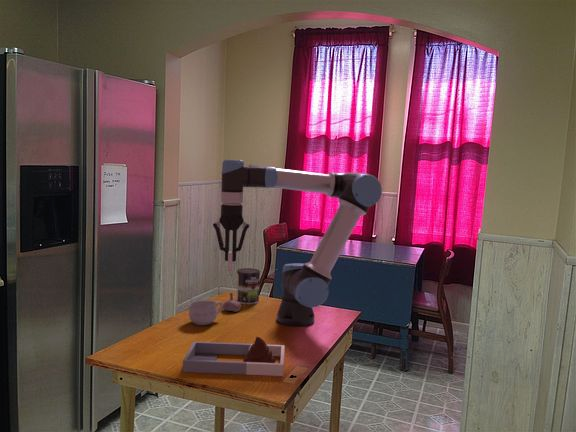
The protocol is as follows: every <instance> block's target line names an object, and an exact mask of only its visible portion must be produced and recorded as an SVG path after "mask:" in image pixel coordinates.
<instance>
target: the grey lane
mask: <svg viewBox="0 0 576 432" xmlns="http://www.w3.org/2000/svg"><path fill="white" fill-rule="evenodd" d="M251 344H252V343H239V342H237V343H235V342H217V341H216V342H215V341H214V342H213V341H193V342H192V344H191V345H190V347H189V349H188V352H187V353H186V355H185V357H184V358H183V360H182V373H196V374H197V373H200V374H201V373H202V374H203V373H204V374H220V375H221V374H223V375H225V374H227V375H246V364H247V362H243V361H234V360H233V361H230V360H228V361H227V360H217V359H218V357H219V355H235V356H236V355H238V356H239V355H240V356H247V353H248V351H249V347H250V346H251ZM246 376H247V375H246Z"/></svg>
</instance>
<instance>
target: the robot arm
mask: <svg viewBox="0 0 576 432" xmlns="http://www.w3.org/2000/svg"><path fill="white" fill-rule="evenodd" d="M244 188H263V189H264V188H265V189H269V188H272V189H273V188H274V189H275V188H276V189H281V190H282V189H283V190H292V191H300V192H309V193H318V194H325V195H326V196H327V197H331V198H336V199H338V203H339V206H338V208H337V210H336V212H335V214H334V216H333V218H332V220H331V221H330V223H329V225H328V227H327V229H326V230H325V232H324V234H323V236H322V239H321V240H320V242H319V243H318V246H317V248H316V249H315V250H314V251H315V252H314V253H313V255H312V257H311V259H310V261H308V262H305V263H303V262H302V263H296V262H295V263H294V262H293V263H286V264H284V265H283V267H282V271H281V272H282V273H281V274H282V281H281V282H282V283H281V284H282V285H281V302H280V305H279V308H278V310H277V313H276V320H277V322H278V323H280V324H283V325H286V326H293V327H303V326H309V325H312V324H314V322H315V312H314V309H313V308H316V307H319V306H321V305H322V304H324V302H325V301H326V300H327V299H328V296H329V285H330V282H331V281H332V279H333V278H332V276H331V271H332V270H333V268H334V266H335V264H336V262H337V261H338V259H339V257H340V255H341V253H342V251H343V250H344V247H345V246H346V244H347V242H348V240H349V238H350V237H351V234H352V233H353V230H354V229H355V227H356V225H357V223H358V221H359V220H360V218H361V216H365V215H367V213H368V211H369V209H370V208H371V207H372V206H374V205H376V204H377V203H378V202H379V201H380V199H381V196H382V195H383V194H382V193H383V188H382V185H381V182H380V180H379V179H378V178H377V177H376V176H375V175H372V174H369V173H365V172H332V171H331V172H329V173H326V174H325V173H320V172H318V173H317V172H311V171H303V170H294V169H286V168H280V167H279V168H276V167H274V166H268V165H267V166H262V165H261V166H260V165H254V164H248V165H245V163H244V160H242V159H223V161H222V163H221V193H220V199H221V200H220V203H221V205H220V217H219V219H218V221H217V222H214V223H213V224H212V227H213V228H214V230H215V233H216V237H217V243H218V246H219V250H220V251H223V252H224V261H225V262H227V271H229V272H232V271H233V269H234V262H236V260H237V253H238V252H240V251H241V250H242V248H243V245H244V241H245V238H246V234H247V230H248V229H249V227H250V224H249V223H248V222H245V220H244V218H243V217H244V216H243V209H244V208H243V207H244V206H243V205H242V203H244V202H243V200H244ZM221 226H222V228H223V229H224V231H225V233H224V234H225V236H224V238H223V236H222V231H221ZM240 227H241V228H242V232H241V234H240V238H239V242H238V230H239V228H240ZM231 231H232V247H231V248H232V250H231V251H230V241H231V240H230V238H231V237H230V236H231V235H230V233H231ZM224 239H225V240H224ZM223 240H224V241H223ZM237 242H238V243H237Z"/></svg>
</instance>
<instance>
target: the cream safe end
mask: <svg viewBox="0 0 576 432" xmlns="http://www.w3.org/2000/svg"><path fill="white" fill-rule="evenodd" d="M250 344H251V345H252V344H253V343H250ZM266 345H267V346H268V347H269V349H270V350H271V351H272V356H273V357H280V360H279V362H275V363H259V362H247V364H246V376H247V375H251V376H267V377H268V376H273V377H283V376H284V368H285V367H284V365H285V345H284V344H283V345H282V344H266Z"/></svg>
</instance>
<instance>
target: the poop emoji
mask: <svg viewBox="0 0 576 432" xmlns="http://www.w3.org/2000/svg"><path fill="white" fill-rule="evenodd" d="M251 344H252V345H251V346H250V347H249V351H248V353H247V355H245V357H244V358H243V360H242V362H259V363H276V359H275V356H272V351H271V350H270V349H269V347H268V346H267V345H268V344H267V345H266V342H265V341H264V339H262V337H260V336H256V337H255V340H254V343H251Z"/></svg>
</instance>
